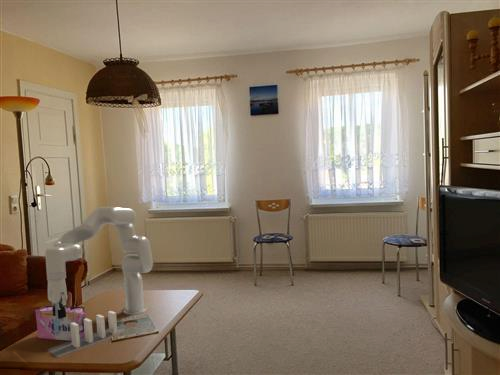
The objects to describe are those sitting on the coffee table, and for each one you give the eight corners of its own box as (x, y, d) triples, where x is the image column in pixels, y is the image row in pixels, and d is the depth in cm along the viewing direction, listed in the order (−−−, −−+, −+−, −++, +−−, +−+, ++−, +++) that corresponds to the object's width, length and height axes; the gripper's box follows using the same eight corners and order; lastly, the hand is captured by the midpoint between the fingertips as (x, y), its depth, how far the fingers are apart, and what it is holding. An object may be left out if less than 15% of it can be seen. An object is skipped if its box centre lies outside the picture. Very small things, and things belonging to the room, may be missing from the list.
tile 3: (85, 340, 188) (83, 319, 188) (88, 339, 189) (86, 318, 189) (89, 343, 185) (88, 321, 184) (93, 341, 186) (91, 320, 185)
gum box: (89, 334, 194) (87, 306, 194) (78, 341, 187) (75, 312, 186) (49, 331, 201) (47, 304, 201) (37, 338, 194) (34, 310, 193)
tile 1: (109, 331, 197) (107, 311, 196) (112, 330, 198) (111, 310, 197) (114, 334, 193) (112, 313, 193) (117, 333, 194) (116, 312, 194)
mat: (47, 350, 180) (46, 349, 180) (128, 322, 209) (128, 321, 209) (57, 358, 172) (57, 357, 172) (140, 327, 201) (140, 327, 201)
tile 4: (71, 344, 184) (70, 323, 183) (75, 343, 185) (73, 322, 184) (76, 347, 180) (75, 325, 180) (80, 346, 182) (78, 324, 181)
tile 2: (97, 335, 192) (95, 315, 192) (100, 334, 194) (99, 314, 193) (102, 338, 189) (100, 317, 188) (105, 337, 190) (104, 316, 190)
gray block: (55, 319, 179) (54, 297, 178) (59, 318, 180) (57, 296, 179) (60, 322, 175) (58, 299, 175) (64, 321, 176) (62, 298, 176)
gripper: (40, 274, 180) (43, 314, 181) (55, 280, 168) (58, 323, 169) (57, 270, 185) (60, 310, 186) (73, 276, 173) (76, 318, 174)
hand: (59, 316), depth 177 cm, fingers closed on gray block, 4 cm apart
